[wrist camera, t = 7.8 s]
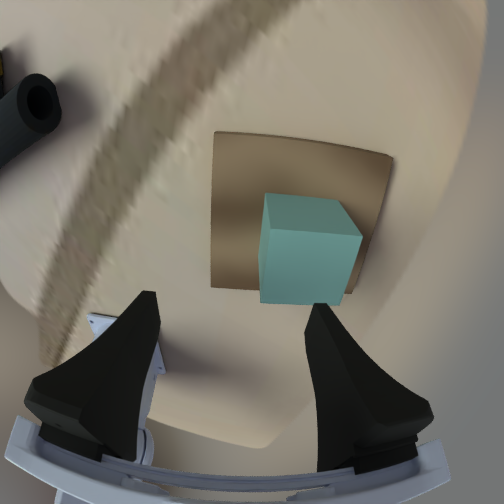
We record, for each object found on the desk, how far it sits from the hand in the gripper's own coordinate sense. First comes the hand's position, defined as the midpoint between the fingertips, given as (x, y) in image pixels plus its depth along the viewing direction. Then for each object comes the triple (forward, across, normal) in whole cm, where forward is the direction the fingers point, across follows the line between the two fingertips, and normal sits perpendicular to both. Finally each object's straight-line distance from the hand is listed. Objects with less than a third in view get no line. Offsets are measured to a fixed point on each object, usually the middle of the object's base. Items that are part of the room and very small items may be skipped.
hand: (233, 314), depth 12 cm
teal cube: (+8, -4, 0) cm, 9 cm away
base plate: (+9, -4, 0) cm, 10 cm away
